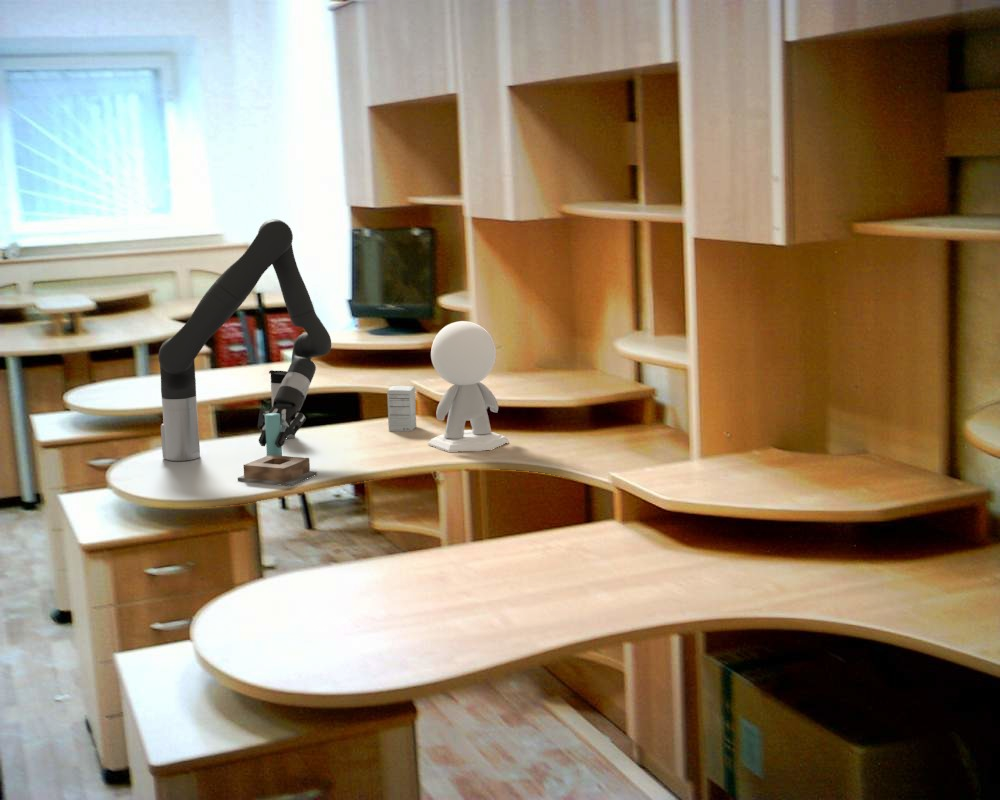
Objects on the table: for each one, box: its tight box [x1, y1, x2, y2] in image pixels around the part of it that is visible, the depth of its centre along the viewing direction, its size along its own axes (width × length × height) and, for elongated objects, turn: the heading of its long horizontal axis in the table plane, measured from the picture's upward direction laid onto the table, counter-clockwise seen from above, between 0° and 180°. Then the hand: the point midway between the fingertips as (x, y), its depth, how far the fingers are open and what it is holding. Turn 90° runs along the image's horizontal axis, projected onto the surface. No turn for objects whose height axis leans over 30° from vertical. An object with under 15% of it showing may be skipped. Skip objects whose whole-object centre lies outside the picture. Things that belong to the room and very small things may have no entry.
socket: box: [237, 455, 318, 487], centre depth 321 cm, size 16×12×4 cm
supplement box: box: [386, 385, 417, 432], centre depth 378 cm, size 7×7×13 cm
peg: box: [265, 413, 283, 456], centre depth 333 cm, size 4×4×14 cm
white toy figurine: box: [427, 320, 510, 453], centre depth 354 cm, size 20×23×35 cm
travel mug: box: [268, 369, 296, 439], centre depth 369 cm, size 6×7×20 cm
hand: (269, 445), depth 332 cm, fingers open, 4 cm apart
